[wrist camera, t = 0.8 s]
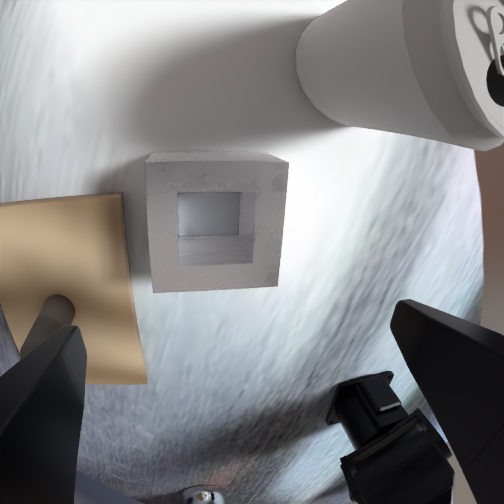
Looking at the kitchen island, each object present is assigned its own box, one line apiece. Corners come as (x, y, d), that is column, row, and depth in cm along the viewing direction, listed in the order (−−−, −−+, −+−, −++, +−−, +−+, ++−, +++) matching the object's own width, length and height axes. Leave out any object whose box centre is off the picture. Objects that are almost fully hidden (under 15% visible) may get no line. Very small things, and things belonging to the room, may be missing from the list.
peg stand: (147, 375, 22) (146, 437, 17) (35, 371, 20) (16, 426, 15) (122, 192, 17) (98, 227, 11) (-16, 205, 15) (-68, 240, 9)
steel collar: (259, 255, 20) (277, 286, 17) (156, 259, 19) (153, 293, 15) (266, 152, 18) (288, 162, 14) (152, 152, 16) (145, 162, 13)
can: (322, 145, 18) (480, 197, 8) (267, 34, 15) (394, -54, 4) (408, 103, 18) (562, 127, 7) (366, 4, 15) (513, -40, 4)
